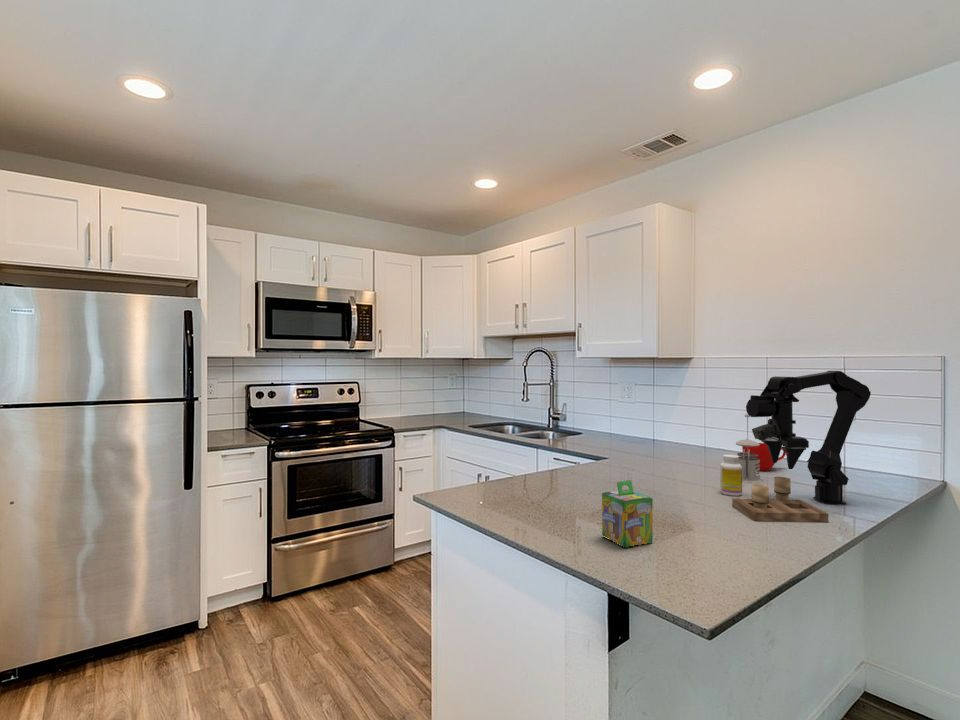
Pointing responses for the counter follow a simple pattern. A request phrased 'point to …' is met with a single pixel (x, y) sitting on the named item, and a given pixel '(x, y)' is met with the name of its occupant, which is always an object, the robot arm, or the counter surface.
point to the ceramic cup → (763, 456)
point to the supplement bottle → (731, 476)
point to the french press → (749, 461)
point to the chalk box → (627, 516)
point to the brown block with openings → (777, 508)
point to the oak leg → (782, 487)
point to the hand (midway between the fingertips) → (782, 465)
